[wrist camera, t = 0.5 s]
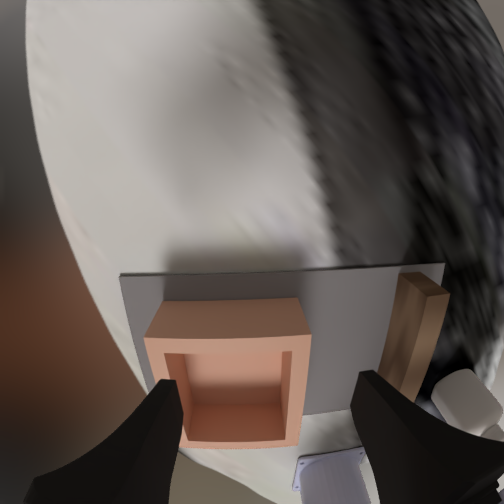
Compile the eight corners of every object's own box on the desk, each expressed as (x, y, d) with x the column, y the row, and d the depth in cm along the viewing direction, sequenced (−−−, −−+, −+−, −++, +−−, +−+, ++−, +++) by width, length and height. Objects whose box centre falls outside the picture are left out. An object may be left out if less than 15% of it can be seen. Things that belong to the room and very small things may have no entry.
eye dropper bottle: (452, 397, 24) (498, 465, 13) (424, 396, 24) (474, 476, 12) (473, 368, 23) (528, 434, 12) (447, 364, 22) (509, 442, 11)
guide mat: (405, 395, 23) (406, 396, 23) (157, 414, 23) (157, 416, 22) (443, 262, 19) (444, 263, 19) (119, 275, 18) (118, 276, 18)
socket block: (290, 405, 22) (297, 445, 18) (185, 407, 22) (177, 446, 18) (297, 297, 19) (311, 334, 15) (162, 300, 19) (143, 337, 14)
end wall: (386, 398, 23) (401, 426, 19) (368, 402, 23) (382, 432, 19) (420, 271, 19) (450, 293, 15) (398, 273, 19) (427, 296, 15)
